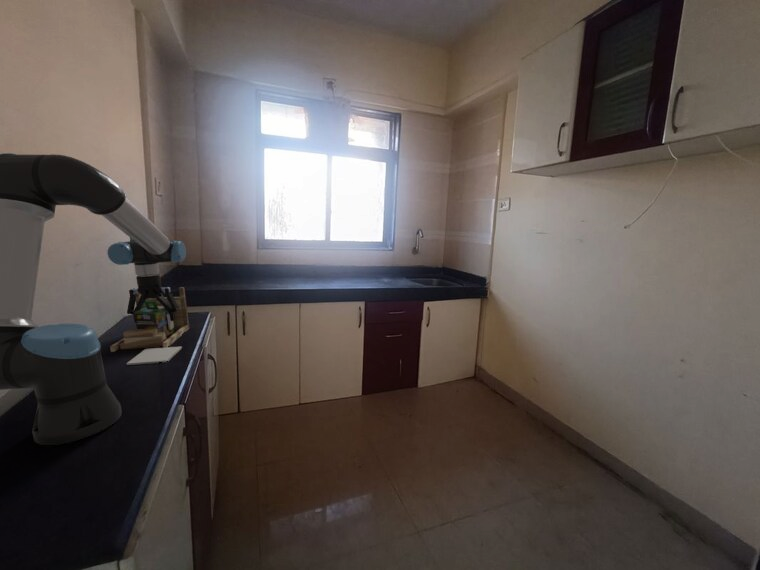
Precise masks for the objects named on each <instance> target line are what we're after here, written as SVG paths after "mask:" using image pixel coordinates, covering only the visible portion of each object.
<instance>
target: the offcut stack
mask: <svg viewBox="0 0 760 570" xmlns="http://www.w3.org/2000/svg"><path fill="white" fill-rule="evenodd" d="M122 334H123V338H124V342H122V343H121V344H120V348H119V349H120V350H129V349H143V348H144V349H148V348H161V347H160V346H162V347H163V342H165V341H166V340H167V339H168V337H166V336H165V332H162V333H158V331H157V329H137V328H136V329H127V330H126V331H123V332H122Z"/></svg>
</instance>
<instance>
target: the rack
mask: <svg viewBox="0 0 760 570" xmlns="http://www.w3.org/2000/svg"><path fill="white" fill-rule="evenodd" d="M178 293H179V296H173V297H174V299H175V301H176V303H177V305H178V307H179V310H177V311H176V312H174V314H175V320H174V326H175V333H173V334H171V335H170V336H168V337H167V340H166V341H165V342H163V346H162V348H167V347H168V346H169V347H171V345H172V344H174V343H175V341H177V340H178V339H179V338H181V336H182V334H183V333H184V332H185V333H186V332H188V330H189V329H190V321H189V320H190V319H189V313H188V305H187V299H186V291H185V287H184V286H183V287H182V286H181V287H178ZM140 297H141V294H140V293H139V292H138V293H137V296H136V302H135V306H136V305H137V303H138V301H139V298H140ZM164 298H165V299H166V301H167V302H168V303H169V301H168V299H167V297H166V296H164ZM145 301H155V302H156V304H157V306H163V305H162V304H161V303H160V302H159V301H158V300H157V299H156V298H155V299H152V298H149V299H146V300H145ZM169 304H170V303H169ZM149 306H154V305H153V304H149ZM144 308H146V305H145V303H144V304H143V306H142V308H141V309H144ZM185 333H184V334H185ZM184 334H183V335H184ZM122 342H124V337H123V338H122V339H120V340H118V341H117V342H115V343H113V344H111V345H110V346H109V349H110V353H114V352H116V351H118V350H120V349H121V348H120V344H121V343H122Z"/></svg>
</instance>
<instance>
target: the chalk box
mask: <svg viewBox="0 0 760 570" xmlns="http://www.w3.org/2000/svg"><path fill="white" fill-rule="evenodd" d="M144 303H145V305H146V308H144V309H141V310H139V311H136V312H134V316H135V321H136V323H135V326H136V329H157V331H158V333H162V332H165V336H166V337H165V338H168V337H170V336H172V335H173V334H174V333H176V330H175V326H174V328H173V329H171V330H169V326H168V319H167V314H168V313H169V312H168V311H167V310H166V309H165V308H164V307H163V306H157V304H156V302H155V301H145V302H144ZM149 304H153V305H154V306H149ZM134 316H133V317H134ZM173 324H174V321H173Z"/></svg>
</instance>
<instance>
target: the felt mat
mask: <svg viewBox="0 0 760 570" xmlns="http://www.w3.org/2000/svg"><path fill="white" fill-rule="evenodd" d="M182 348H183V346H169V347H167V348H163V347H152V348H144V350H142V351H141V352H140V353H138V354H137V355H136V356H134V357H133V358H132V359H130V360H129V361H127V362H126V366H135V365H136V366H137V365H145V364H147V365H148V364H159V362H162V363H168V362H169V361H170V360H171V359H172V358H173V357H174V356H176V354H178V353H179V351H181V350H182ZM167 361H168V362H167Z"/></svg>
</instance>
